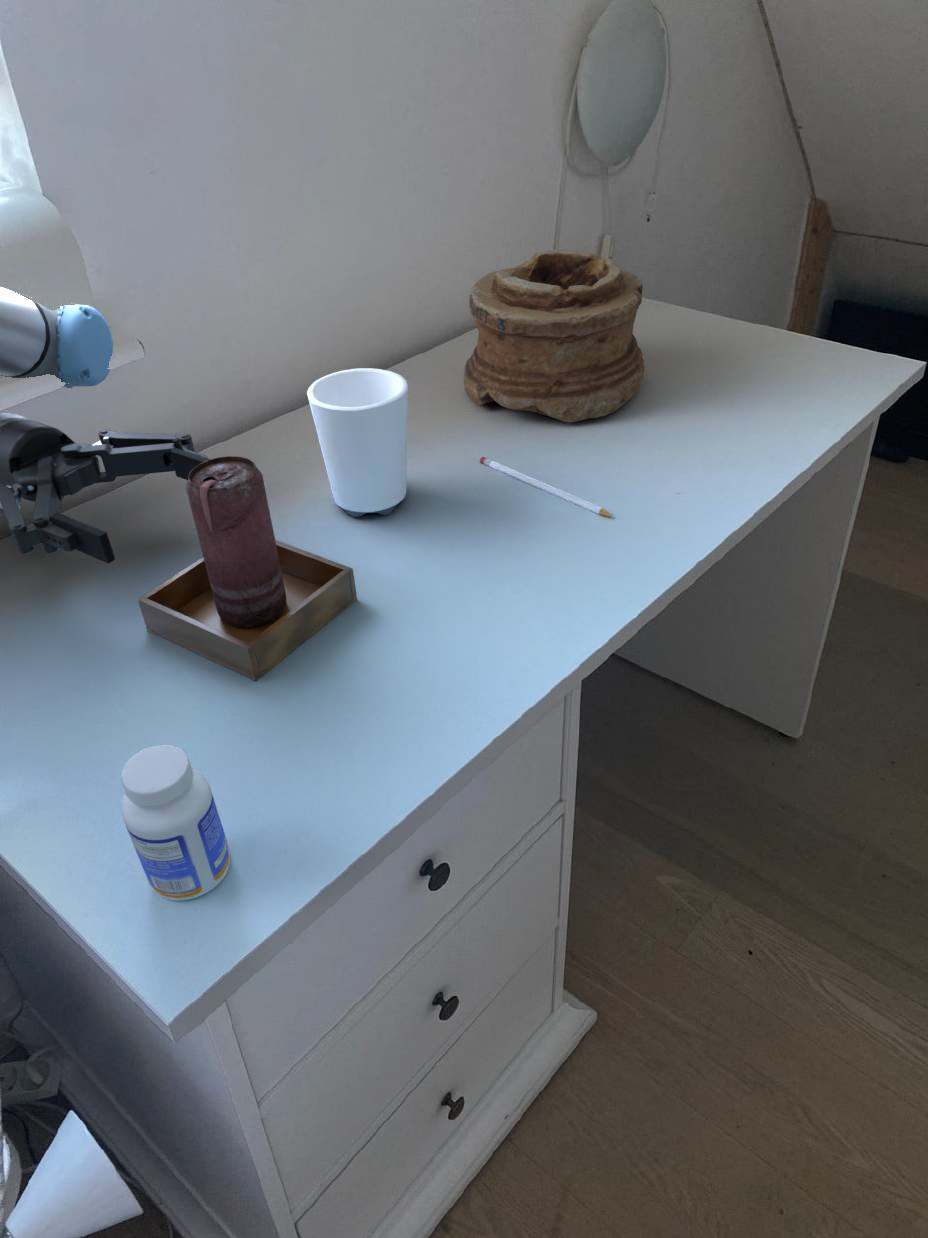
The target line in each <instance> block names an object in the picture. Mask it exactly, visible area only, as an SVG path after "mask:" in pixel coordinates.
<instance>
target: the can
mask: <svg viewBox="0 0 928 1238" xmlns="http://www.w3.org/2000/svg"><path fill="white" fill-rule="evenodd" d="M209 459H210V460H207V461H205V462H203V463H200V464H199V465H197V466H196V467H194V468H193V469H192V470H191V471H190V473H189V476H188V480H187V481H186V488H185V489H186V495H187V498H188V501H189V502H188V503H189V506H190V510H191V513H192V518H193V521H194V525H195V529H196V530H195V531H196V534H197V538H198V541H199V546H200V550H201V554H202V557H204V561H205V565H206V569H207V573H208V577H209V581H210V585H211V589H212V593H213V597H214V601H215V605H216V608H217V612H218V614H219V616H220V618H221V619H222V620H223V621H225V622H226V623H228V624H229V625H230V626H233V627H236V628H243V629H250V628H258V627H261V626H264V625H267V624H269V623H271V622H272V621H274V620H276V619H277V618H278V617H279V616H280V615H281V613H282V611H283V610H284V608H285V606H286V604H287V602H286V593H285V588H284V583H283V578H282V572H281V567H280V562H279V557H278V552H277V547H276V542H275V540H276V537H275V532H274V527H273V522H272V518H271V512H270V506H269V501H268V496H267V492H266V491H267V490H266V486H265V481H264V476H263V473H262V472H261V470H260V469H259V468H258V467H257V465H256V464H255V462H254V461H253V460H252V459H249V458H247V457H243V456H236V455H235V456H231V455H227V456H219V457H215V458H209Z"/></svg>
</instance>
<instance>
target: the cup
mask: <svg viewBox="0 0 928 1238" xmlns="http://www.w3.org/2000/svg"><path fill="white" fill-rule="evenodd" d="M306 395H307V398H308V403H309V407H310V412H311V415H312V419H313V422H314V427H315V431H316V435H317V438H318V442H319V446H320V450H321V454H322V458H323V462H324V465H325V469H326V473H327V478H328V481H329V485H330V489H331V493H332V497H333V500H334V503H335V504H336V505H337V506H338V507H340V508H341V509H342V510H344V511H345V512H346V513H348V514H349V515H350V516H351V517H354V518H359V517H362V516H364V515H365V514H370V513H377V514H379V515H388V514H391V513H392V511H393V510H394V509H395V508H396V507H397V506H398V505H399V504H400V502H402V501H403V500H405V498H406V496H407V475H408V473H407V471H408V470H407V468H408V466H407V465H408V464H407V463H408V411H409V410H408V409H409V408H408V407H409V404H408V400H409V384H408V382H407V379H406V378H405V377H404V376H402V375H401V374H399V373H396V372H394V371H391V370H387V369H383V368H372V367H359V368H358V367H357V368H351V369H343V370H340V371H335V372H332V373H329V374H327V375H324V376H322V377H320V378H318V379H316V380H315V381H313V383H312V384H310V386H309V387H308V389H307V391H306Z"/></svg>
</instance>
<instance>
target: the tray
mask: <svg viewBox="0 0 928 1238" xmlns="http://www.w3.org/2000/svg"><path fill="white" fill-rule="evenodd" d="M275 542H276V547H277V552H278V557H279V562H280V567H281V572H282V578H283V583H284V588H285V593H286V602H287V604H286V606H285V608H284V610H283V611H282V613H281V615H280V616H279V617H278V618H277V619H276V620H274V621H272V622H271V623H269V624H267V625H264V626H261V627H258V628H250V629H243V628H236V627H233V626H230V625H229V624H228V623H226V622H225V621H223V620H222V619H221V618H220V616H219V614H218V612H217V608H216V605H215V601H214V597H213V593H212V589H211V585H210V581H209V577H208V573H207V569H206V565H205V561H204V557H203V556H202V557H201V558H199V559H197V560H196V561H195V562H192V564H190V565H188V566H187V567H185V568H183V569H182V570H181V571H179V572H177V573H176V574H174V575H173V576H171V577H170V578H168V579H166V580H165V581H164V582H162V583H161V584H159V585H157V586H156V587H155V588H153V589H152V590H150V591H149V592H146V593H145V594H144V595H142V596H141V597H140V598H137V602H138V605H139V608H140V611H141V615H142V618H143V622H144V624H145V628H146V631H147V632H150V633H152V634H153V635H156V636H158V637H160V638H162V639H164V640H165V641H166V640H167V641H169V642H171V643H173V644H175V645H176V646H179V647H182V648H184V649H186V650H188V651H190V652H192V653H194V654H196V655H198V656H200V657H202V658H204V659H207V660H209V661H211V662H213V663H216V664H218V665H220V666H222V667H224V668H226V669H228V670H230V671H233V672H234V673H237V674H239V675H241V676H243V677H246V678H248V679H249V680H252V681H254V682H257V681H258V680H259V679H261V678H262V677H263V676H264V675H265V674H267V673H268V672H269V671H271V670H272V669H273V668H274V667H275V666H277V665H278V664H279V663H280V662H282V661H283V660H284V659H286V657H288V656H290V654H292V653H293V652H294V651H295V650H296V649H298V648H299V647H300V646H301V645H303V644H304V643H305V642H306V641H307V640H309V639H310V638H312V637H313V636H314V634H316V633H318V631H320V630H321V629H322V628H324V627H325V626H326V625H327V624H329V623H330V622H331V621H332V620H333V619H335V618H336V617H337V616H338V615H340V614H341V613H342V612H343V611H345V610H346V609H347V608H348V607H350V606H351V605H352V604H353V603H354V602H355V601H357V600H358V596H357V588H356V587H357V586H356V581H355V574H354V573H355V572H354V568H353V567H350V566H348V565H344V564H342V563H340V562H336V561H334V560H331V559H329V558H325V557H323V556H321V555H318V554H315V553H312V552H310V551H307V550H304V549H301V548H298V547H296V546H293V545H290V544H288V543H285V542H283V541H279V540H277V539H275Z"/></svg>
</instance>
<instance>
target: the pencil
mask: <svg viewBox="0 0 928 1238" xmlns="http://www.w3.org/2000/svg"><path fill="white" fill-rule="evenodd" d="M479 464H482V465H484V466H486V467H489V468H491V469H493V470H495V471H498V472H500V473H501V474H502V473H503V474H504V475H507V476H508V477H512V478H514V479H516V480H518V481H521V482H522V483H525V484H527V485H530V486H532V487H534V488H536V489H539V490H541V491H543V492H546V493H548V494H550V495H552V496H555V497H557V498H559V499H562V500H564V501H567V502H569V503H571V504H573V505H575V506H578V507H580V508H581V509H585V510H586V511H589V512H591V513H593V514H596V515H599V516H601V517H606V518H611V519H612V518H616V517H615V515H614V516H613V514H612V513H610V512H609V511H608V510H606V509H605V508H603V507H601V506H599V505H596V504H594V503H592V502H589V501H588V500H585V499H582V498H580V497H578V496H577V495H576V496H575V495H574V494H571V493H570V492H569V493H568V492H566V491H564V490H561V489H559V488H558V487H555V486H552V485H550V484H548V483H545V482H544V481H541V480H539V479H536V478H534V477H532V476H529V475H527V474H525V473H522V472H521V471H517V470H516V469H513V468H511V467H509V466H506V465H504V464H501V463H499V462H497V461H495V460H492V459H490V458H488V457H485V456H482V457H480V459H479Z"/></svg>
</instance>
